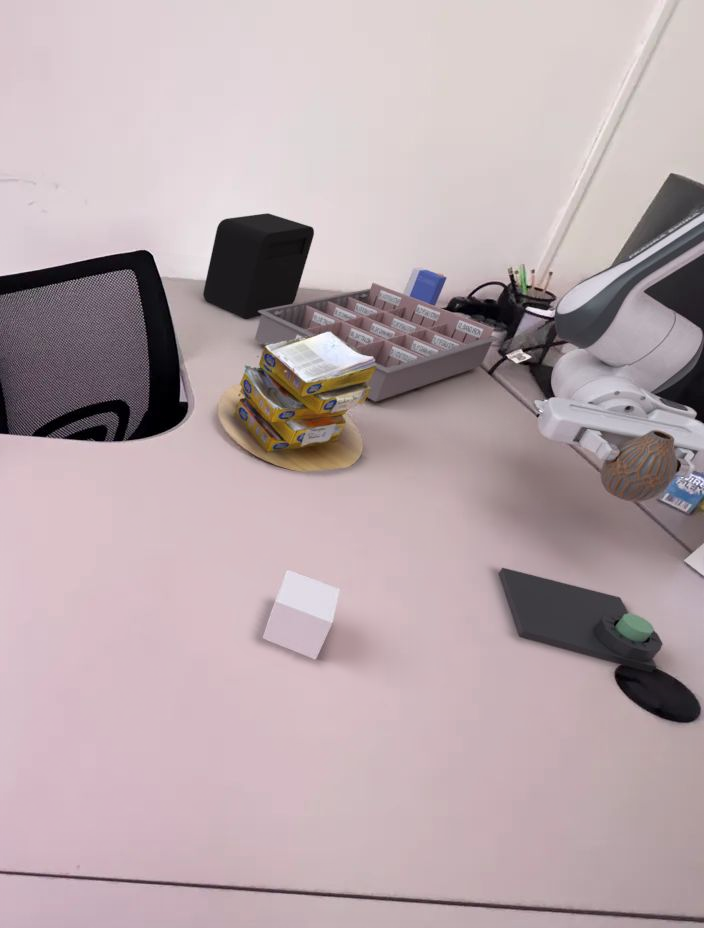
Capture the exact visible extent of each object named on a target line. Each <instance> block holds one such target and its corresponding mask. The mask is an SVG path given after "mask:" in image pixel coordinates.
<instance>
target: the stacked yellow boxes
mask: <svg viewBox="0 0 704 928" xmlns="http://www.w3.org/2000/svg"><path fill="white" fill-rule="evenodd" d="M309 336H311V335H309ZM305 337H307V336H305ZM297 338H298V339H296V338H295V339H296V340H295V339H293V340H290V341H288V342H287V340H285V341H282V342H279V343H276V344H270V345H267V346H265V345H264V347H263V349H262V353H261V357H260V360H259V363H258V366H259V367H251V366H250V365H246V364H244V368H245V369H244V373H243V375H242V377H241V380H240V382H239V383H237V384H234V385H232V386H231V387H229V388H227V389H226V390H225V391H224V392H223V393H222V394H221V396H220V397H219V399H218V402H217V406H216V407H217V408H216V409H217V410H216V411H217V416H218V419H219V421H220V423H221V425H222V427H223V429H224V431H225V432H226V433H227V434H228V435H229V436H230V438H231V439H232V440H233V441H235V442H236V444H238V445H239V446H241V447H242V448H243V449H244V450H246V451H247V452H249V453H250V454H251V455H254V456H256V457H257V458H259V459H261V460H263V461H265V462H268V463H270V464H272V465H275V466H277V467H279V468H280V467H281V468H284V469H286V470H287V469H288V470H291V471H295V472H299V473H303V472H314V471H323V470H335V469H342V468H343V469H344V468H349V467H351V466H353V465H354V464H355V463H356V462H357V461H358V460H359V459H360V457H361V455H362V453H363V449H364V444H363V438H362V435H361V432H360V430H359V428H358V426H357V425H356V424H355V422H354V421H353V420H352V419H351V418H350V416H349V415H348V414H347V412H348V410H349V409H352V408H356V407H357V406H358V405H360V404H364V403H365V401H366V399H367V396H368V394H369V392H370V389H371V388H370V386H368V385H367V384H366V381H369V380H370V378H371V376H372V374H373V372H374V371H375V368H376V364H375V359H374V357H371V356H365V355H362V354H361V353H360V352H358V351H357V350H356V349H354V348H353V347H351V346H350V345H348V344H347V343H345V342H344V341H342V340H341V339H340V338H338V337H337V336H335V335H334V334H332V333H331V332H325V333H322V334H319V335H313V336H312V337H309V338H307V339H305V340H300V339H303V338H304V337H302V338H299V337H297ZM266 344H268V343H266ZM258 357H259V355H256V358H258Z"/></svg>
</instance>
